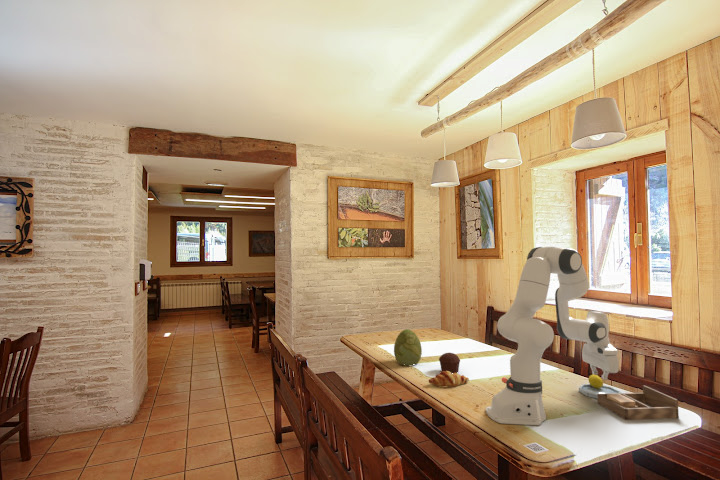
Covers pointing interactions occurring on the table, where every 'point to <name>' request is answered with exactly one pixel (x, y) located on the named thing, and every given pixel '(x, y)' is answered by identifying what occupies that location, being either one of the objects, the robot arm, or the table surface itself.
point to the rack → (643, 405)
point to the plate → (596, 390)
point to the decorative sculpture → (407, 348)
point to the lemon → (595, 381)
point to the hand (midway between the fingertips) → (599, 376)
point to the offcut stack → (622, 400)
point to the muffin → (449, 362)
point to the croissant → (448, 379)
